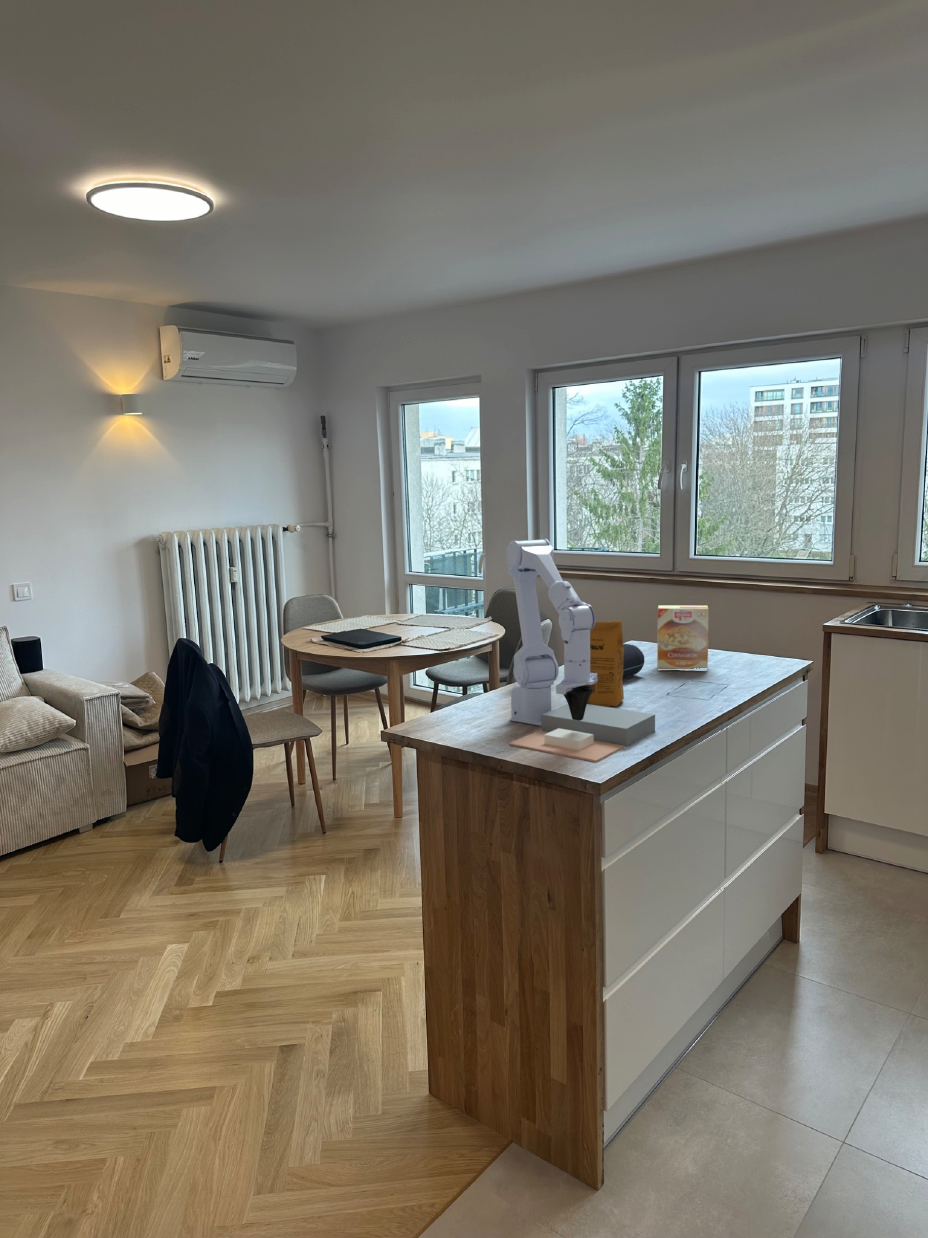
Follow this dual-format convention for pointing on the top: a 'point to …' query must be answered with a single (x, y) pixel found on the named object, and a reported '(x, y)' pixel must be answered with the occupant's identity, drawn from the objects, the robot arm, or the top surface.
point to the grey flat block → (602, 723)
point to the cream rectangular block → (569, 739)
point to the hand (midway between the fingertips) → (577, 719)
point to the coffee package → (607, 663)
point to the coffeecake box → (682, 637)
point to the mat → (588, 753)
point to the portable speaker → (632, 660)
